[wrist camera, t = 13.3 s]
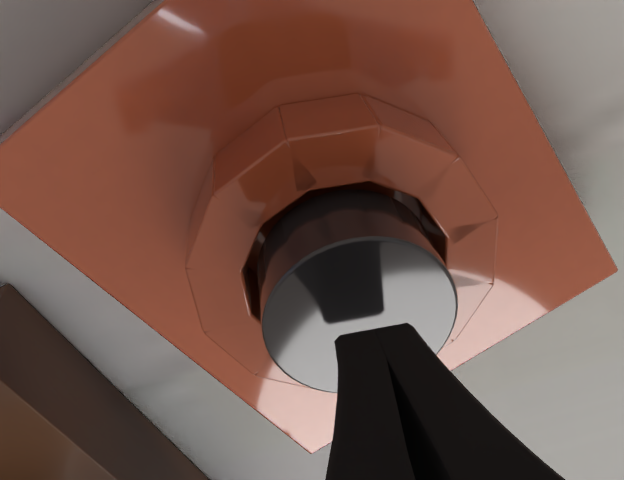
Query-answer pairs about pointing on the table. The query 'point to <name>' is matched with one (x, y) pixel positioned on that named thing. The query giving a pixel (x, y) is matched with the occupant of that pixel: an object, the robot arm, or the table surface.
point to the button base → (295, 171)
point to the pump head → (348, 281)
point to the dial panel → (69, 412)
